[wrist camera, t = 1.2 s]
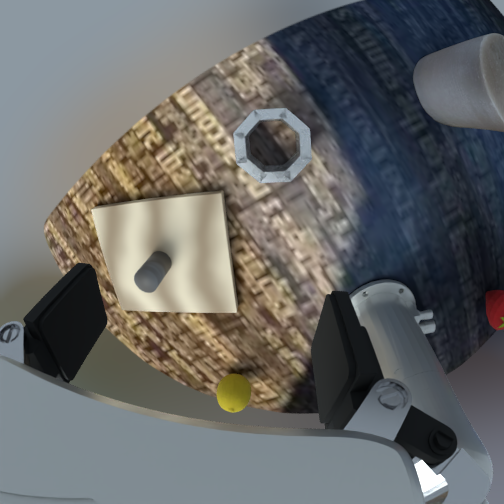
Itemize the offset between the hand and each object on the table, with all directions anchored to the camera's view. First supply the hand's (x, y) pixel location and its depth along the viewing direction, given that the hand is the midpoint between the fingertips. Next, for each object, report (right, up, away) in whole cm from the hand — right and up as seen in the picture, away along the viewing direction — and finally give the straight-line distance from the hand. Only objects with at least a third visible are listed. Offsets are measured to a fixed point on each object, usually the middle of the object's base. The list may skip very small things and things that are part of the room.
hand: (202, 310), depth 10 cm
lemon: (-1, -19, +34) cm, 39 cm away
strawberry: (+43, -5, +24) cm, 49 cm away
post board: (-10, +2, +25) cm, 27 cm away
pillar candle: (+25, +22, +13) cm, 36 cm away
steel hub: (+4, +14, +18) cm, 23 cm away
